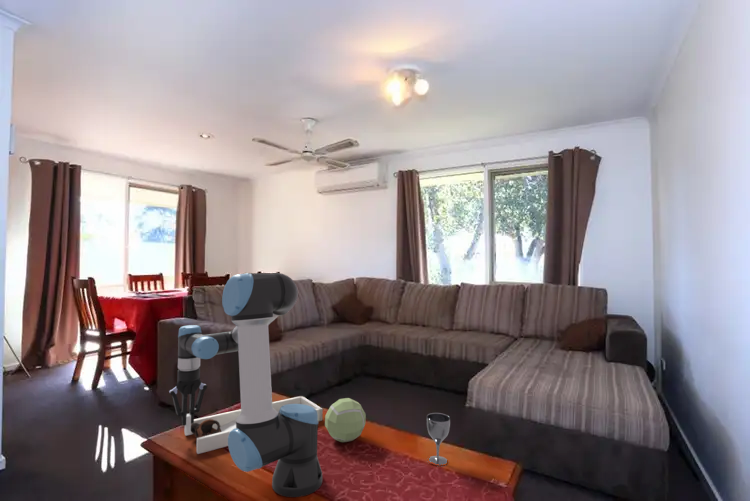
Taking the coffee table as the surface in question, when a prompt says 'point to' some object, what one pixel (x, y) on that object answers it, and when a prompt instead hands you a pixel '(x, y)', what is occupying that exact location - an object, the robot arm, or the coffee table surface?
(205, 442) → the trap lane
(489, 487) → the coffee table surface
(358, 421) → the tennis ball
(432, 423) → the wine glass
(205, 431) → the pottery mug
